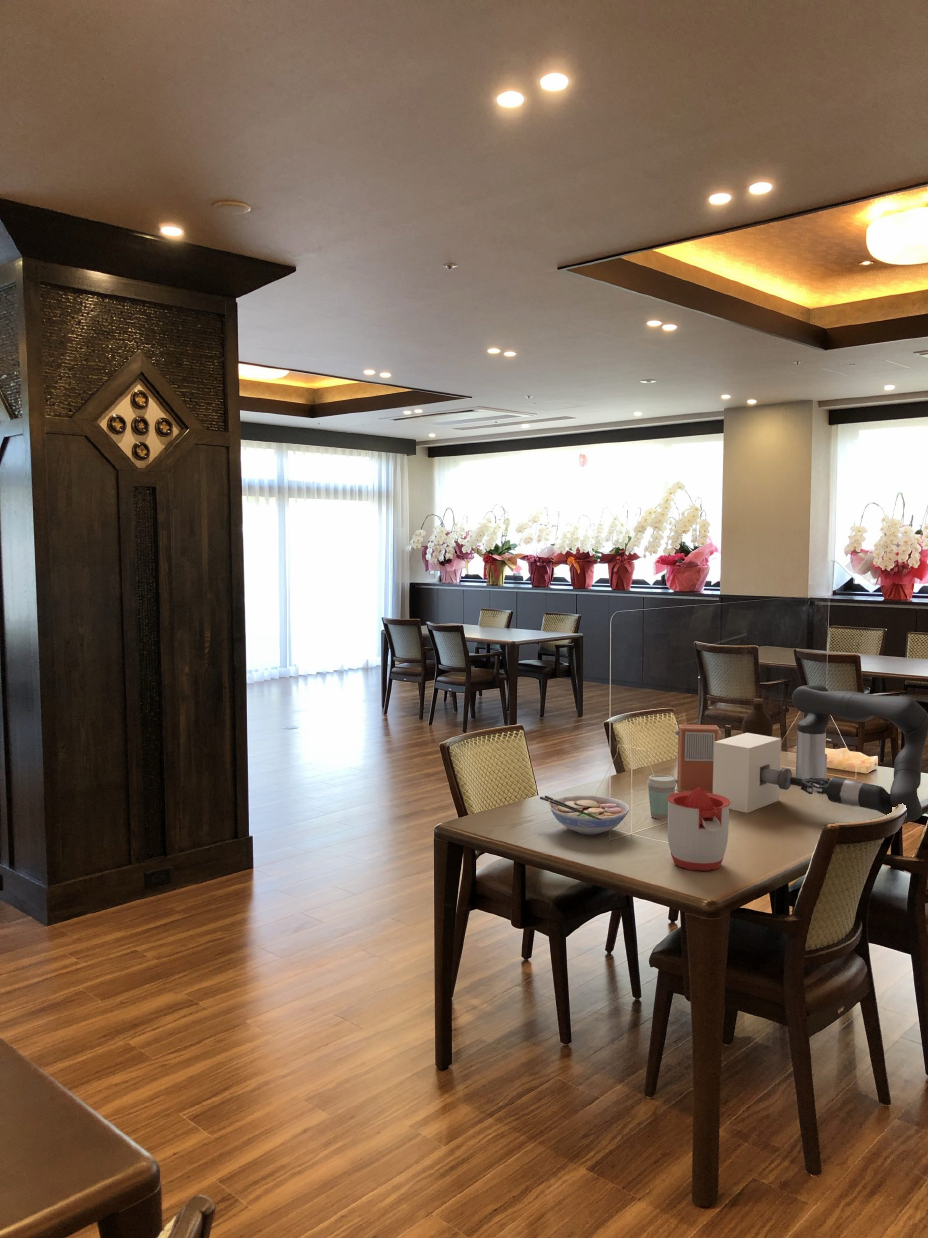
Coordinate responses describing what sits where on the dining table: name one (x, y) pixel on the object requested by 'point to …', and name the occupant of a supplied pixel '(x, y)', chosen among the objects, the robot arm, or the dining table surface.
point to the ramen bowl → (588, 812)
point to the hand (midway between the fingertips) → (791, 780)
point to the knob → (776, 777)
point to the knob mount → (746, 770)
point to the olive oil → (757, 721)
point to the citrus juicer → (697, 829)
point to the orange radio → (696, 756)
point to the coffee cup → (660, 794)
